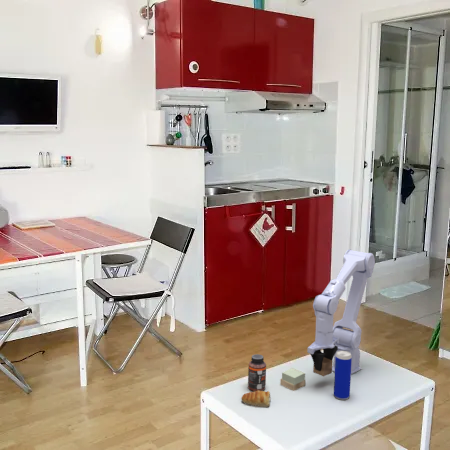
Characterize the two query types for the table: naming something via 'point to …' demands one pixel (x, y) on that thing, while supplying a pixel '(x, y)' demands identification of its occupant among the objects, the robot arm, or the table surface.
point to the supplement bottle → (257, 373)
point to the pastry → (257, 398)
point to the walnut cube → (324, 367)
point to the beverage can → (342, 375)
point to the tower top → (293, 376)
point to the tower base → (291, 386)
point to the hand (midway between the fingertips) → (322, 367)
